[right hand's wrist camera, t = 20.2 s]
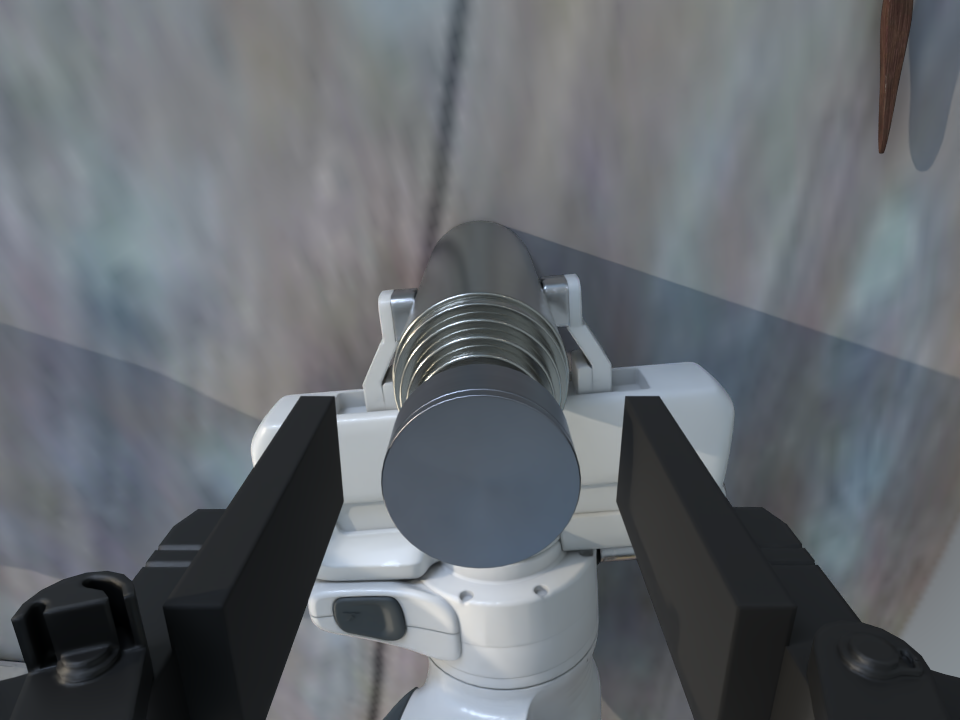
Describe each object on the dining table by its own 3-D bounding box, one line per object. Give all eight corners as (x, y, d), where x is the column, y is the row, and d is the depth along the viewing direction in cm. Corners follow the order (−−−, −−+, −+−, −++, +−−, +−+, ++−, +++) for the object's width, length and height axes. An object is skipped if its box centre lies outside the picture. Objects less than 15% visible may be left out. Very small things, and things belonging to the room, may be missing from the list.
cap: (355, 427, 14) (339, 466, 13) (503, 327, 14) (506, 355, 12) (461, 549, 16) (459, 599, 14) (603, 464, 15) (618, 507, 13)
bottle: (530, 323, 32) (593, 572, 14) (429, 323, 32) (366, 571, 14) (534, 220, 31) (612, 359, 13) (427, 220, 31) (351, 357, 13)
